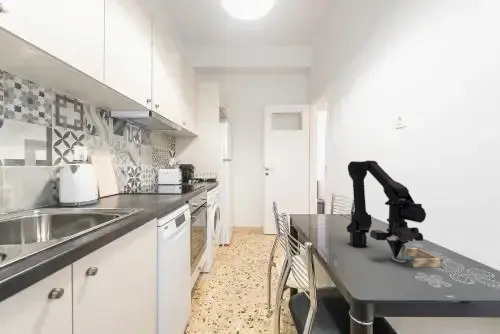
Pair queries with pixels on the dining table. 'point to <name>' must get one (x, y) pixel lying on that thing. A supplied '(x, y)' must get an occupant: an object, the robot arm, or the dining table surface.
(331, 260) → the dining table surface
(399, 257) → the pacifier
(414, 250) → the box
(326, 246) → the dining table surface
